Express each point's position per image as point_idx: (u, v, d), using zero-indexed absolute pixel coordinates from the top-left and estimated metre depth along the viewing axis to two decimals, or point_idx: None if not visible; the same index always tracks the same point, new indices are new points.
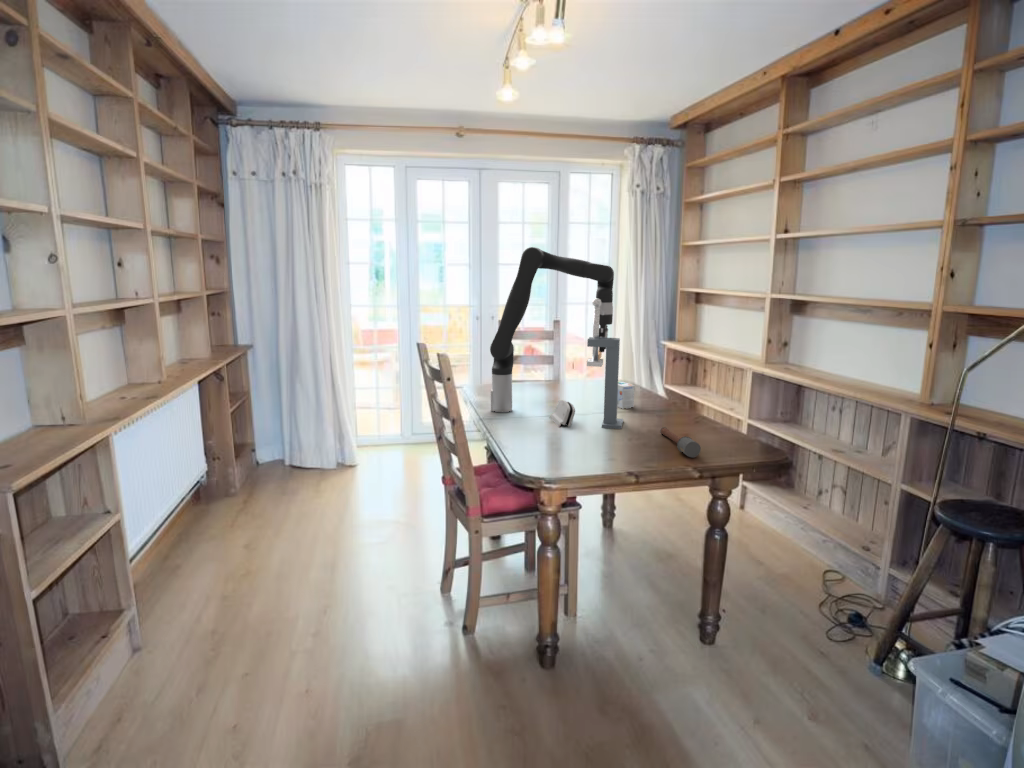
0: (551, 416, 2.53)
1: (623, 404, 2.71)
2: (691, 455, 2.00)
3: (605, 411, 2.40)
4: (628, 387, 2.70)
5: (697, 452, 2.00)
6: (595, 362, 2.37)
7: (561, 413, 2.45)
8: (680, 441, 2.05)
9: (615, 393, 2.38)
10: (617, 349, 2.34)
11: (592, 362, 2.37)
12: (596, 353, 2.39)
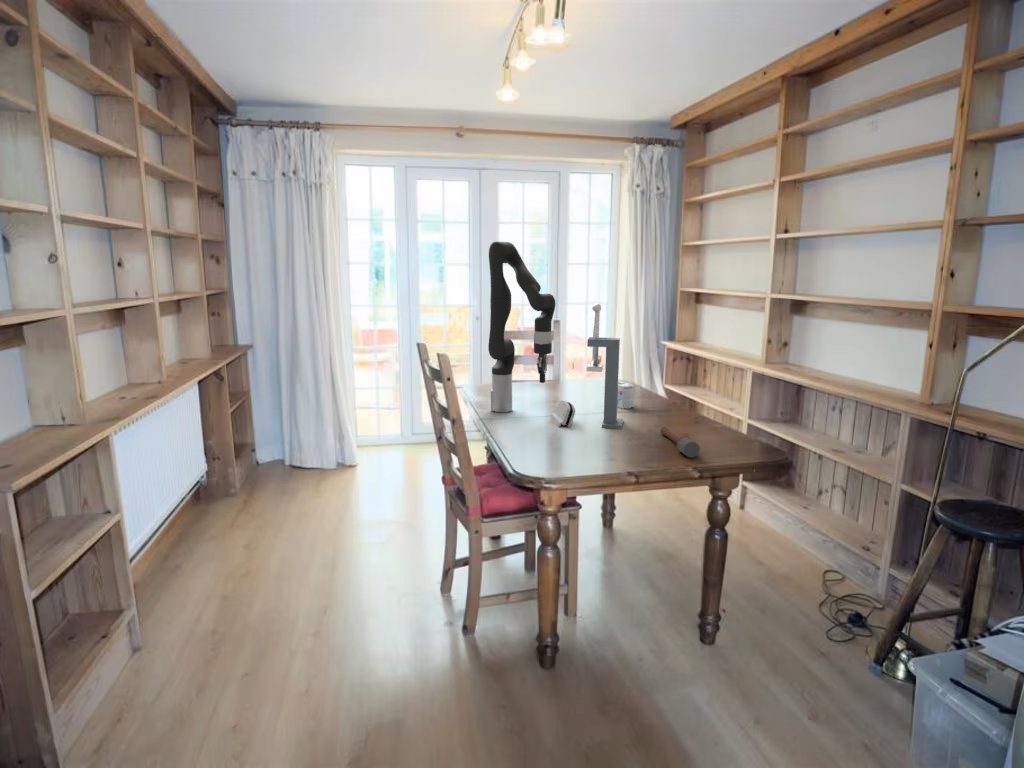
0: (552, 416, 2.53)
1: (623, 404, 2.71)
2: (690, 455, 2.00)
3: (605, 411, 2.40)
4: (628, 387, 2.70)
5: (696, 452, 2.00)
6: (595, 367, 2.37)
7: (561, 413, 2.45)
8: (679, 441, 2.05)
9: (615, 393, 2.38)
10: (617, 349, 2.34)
11: (592, 367, 2.37)
12: (596, 358, 2.39)
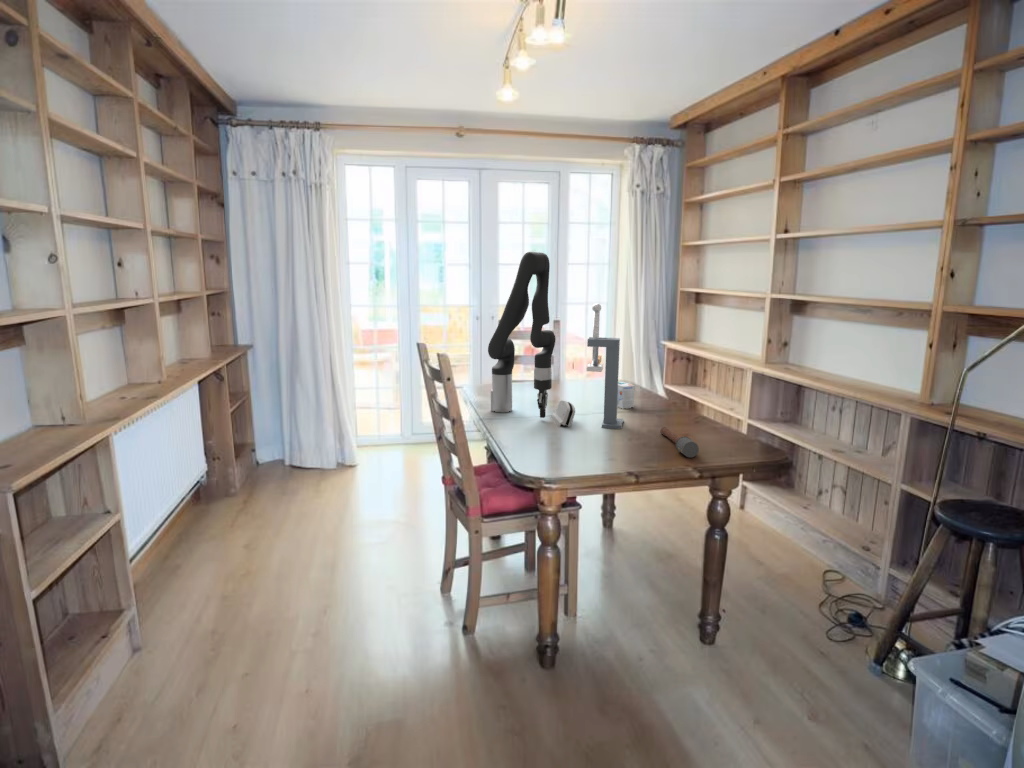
0: (552, 416, 2.53)
1: (623, 404, 2.71)
2: (689, 455, 2.00)
3: (605, 411, 2.40)
4: (628, 387, 2.70)
5: (695, 452, 2.00)
6: (595, 367, 2.37)
7: (561, 413, 2.45)
8: (678, 441, 2.06)
9: (615, 393, 2.38)
10: (617, 349, 2.34)
11: (592, 367, 2.37)
12: (596, 358, 2.39)
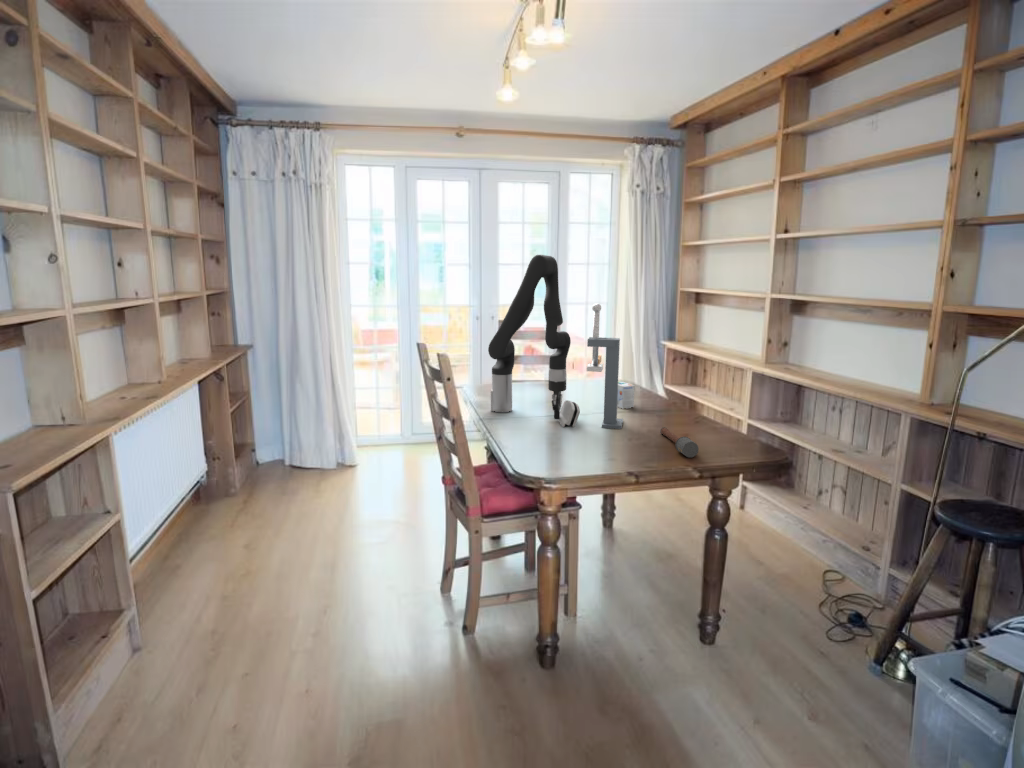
0: None
1: (623, 404, 2.71)
2: (689, 455, 2.00)
3: (605, 411, 2.40)
4: (628, 387, 2.70)
5: (695, 452, 2.00)
6: (595, 367, 2.37)
7: (566, 413, 2.45)
8: (678, 441, 2.06)
9: (615, 393, 2.38)
10: (617, 349, 2.34)
11: (592, 367, 2.37)
12: (596, 358, 2.39)
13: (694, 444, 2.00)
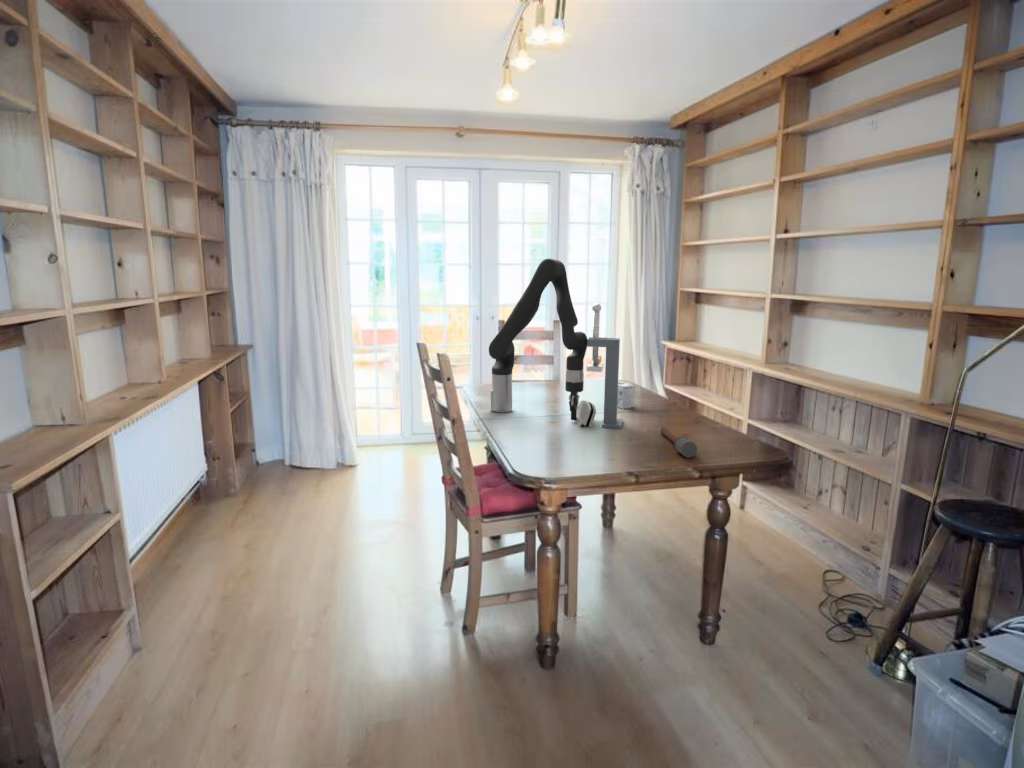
0: None
1: (623, 404, 2.71)
2: (687, 455, 2.00)
3: (605, 411, 2.40)
4: (628, 387, 2.70)
5: (693, 452, 2.00)
6: (595, 367, 2.37)
7: (582, 413, 2.45)
8: (677, 441, 2.06)
9: (615, 393, 2.38)
10: (617, 349, 2.34)
11: (592, 367, 2.37)
12: (596, 358, 2.39)
13: (692, 444, 2.00)
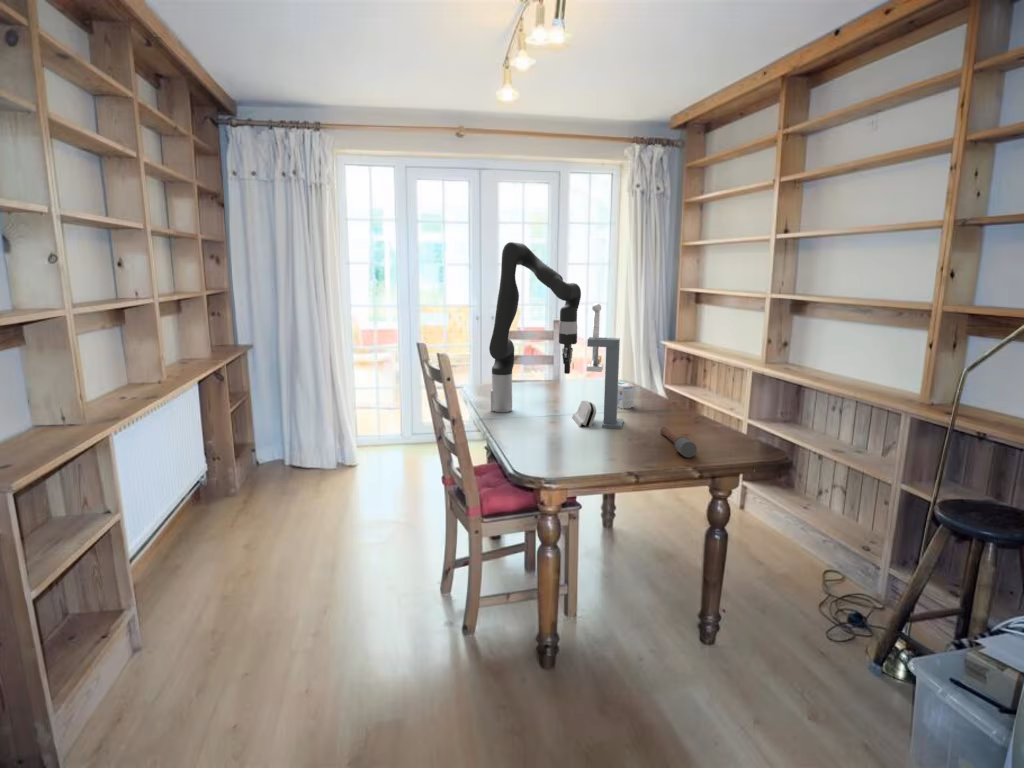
0: (574, 416, 2.53)
1: (623, 404, 2.71)
2: (687, 455, 2.01)
3: (605, 411, 2.40)
4: (628, 387, 2.70)
5: (693, 452, 2.00)
6: (595, 367, 2.37)
7: (582, 413, 2.45)
8: (677, 441, 2.06)
9: (615, 393, 2.38)
10: (617, 349, 2.34)
11: (592, 367, 2.37)
12: (596, 358, 2.39)
13: (692, 444, 2.00)
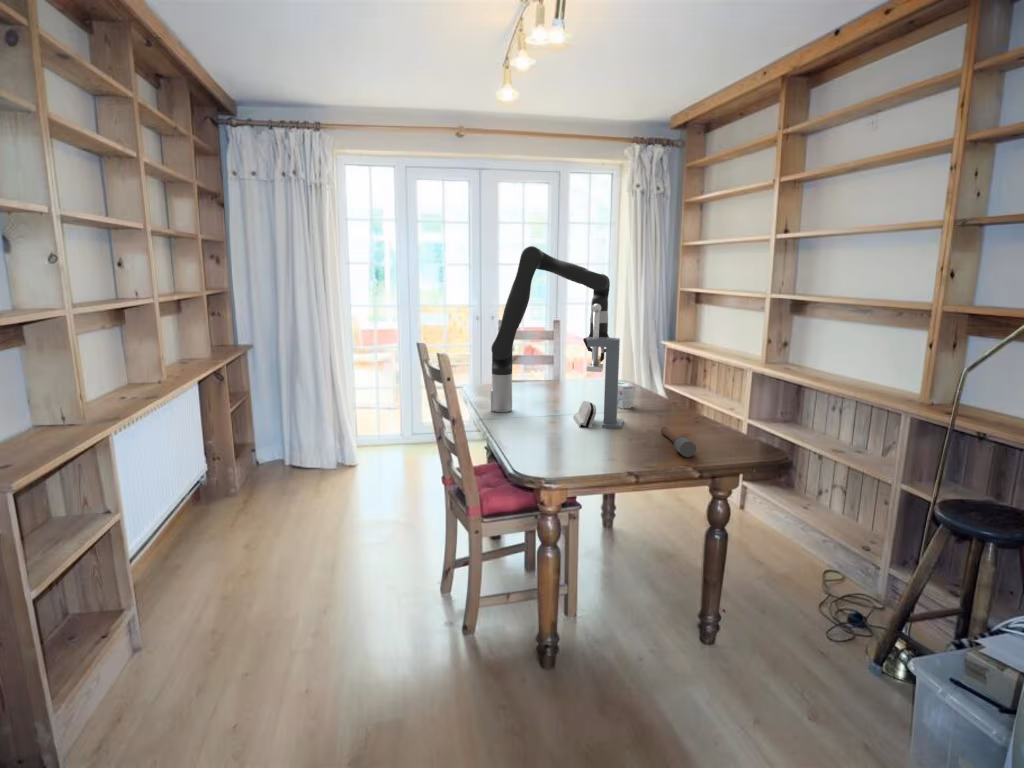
0: (575, 416, 2.52)
1: (623, 404, 2.71)
2: (686, 455, 2.01)
3: (605, 411, 2.40)
4: (628, 387, 2.70)
5: (692, 452, 2.01)
6: (595, 367, 2.37)
7: (583, 414, 2.44)
8: (676, 441, 2.06)
9: (615, 393, 2.38)
10: (617, 349, 2.34)
11: (592, 367, 2.37)
12: (596, 358, 2.39)
13: (691, 444, 2.00)
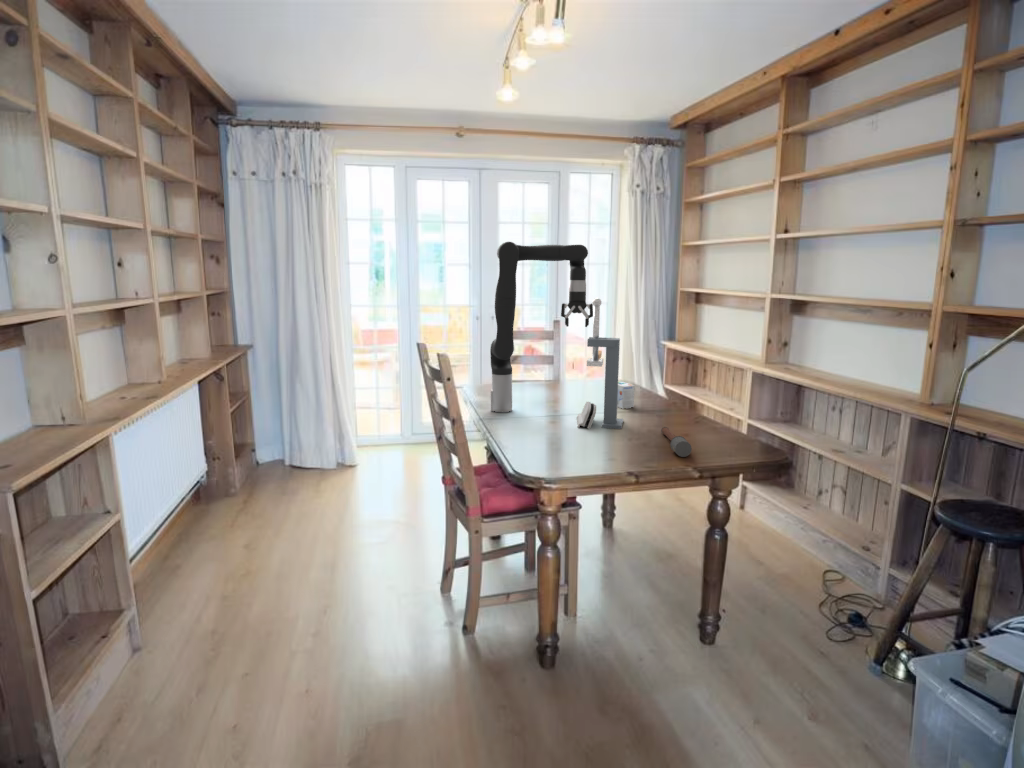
0: (577, 417, 2.52)
1: (623, 404, 2.71)
2: (682, 454, 2.01)
3: (605, 411, 2.40)
4: (628, 387, 2.70)
5: (688, 452, 2.01)
6: (595, 362, 2.37)
7: (583, 414, 2.43)
8: (673, 440, 2.06)
9: (615, 393, 2.38)
10: (617, 349, 2.34)
11: (592, 362, 2.37)
12: (596, 353, 2.39)
13: (687, 444, 2.00)
